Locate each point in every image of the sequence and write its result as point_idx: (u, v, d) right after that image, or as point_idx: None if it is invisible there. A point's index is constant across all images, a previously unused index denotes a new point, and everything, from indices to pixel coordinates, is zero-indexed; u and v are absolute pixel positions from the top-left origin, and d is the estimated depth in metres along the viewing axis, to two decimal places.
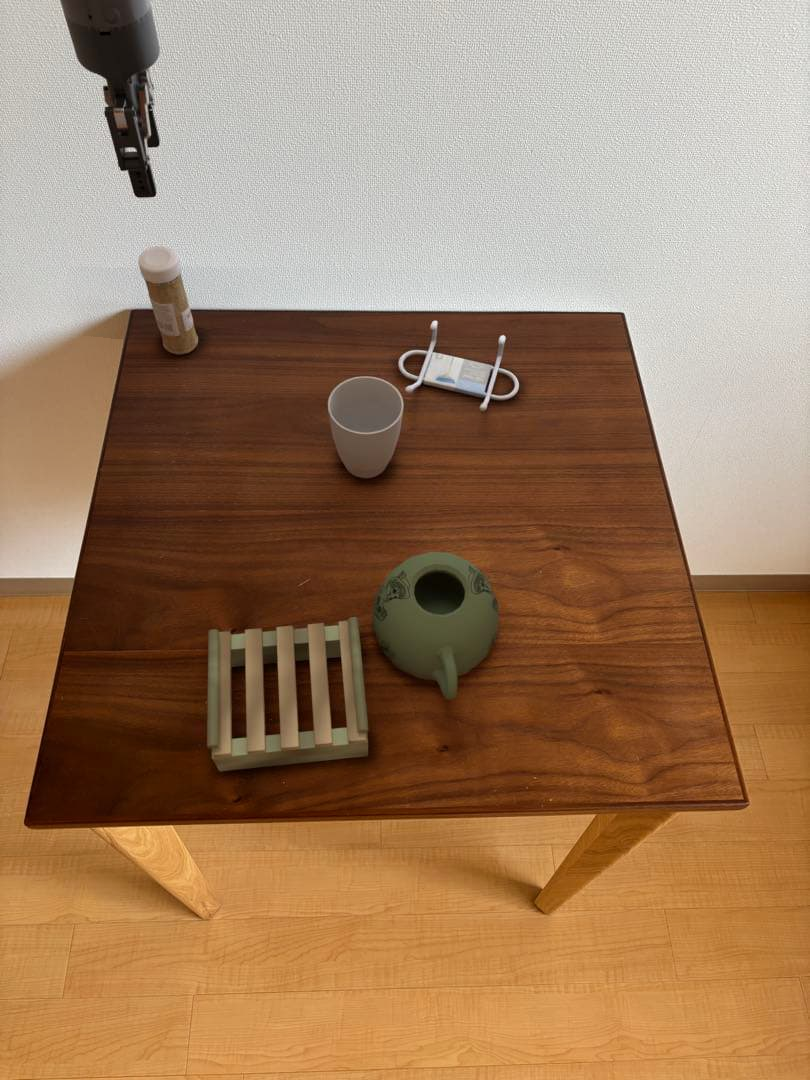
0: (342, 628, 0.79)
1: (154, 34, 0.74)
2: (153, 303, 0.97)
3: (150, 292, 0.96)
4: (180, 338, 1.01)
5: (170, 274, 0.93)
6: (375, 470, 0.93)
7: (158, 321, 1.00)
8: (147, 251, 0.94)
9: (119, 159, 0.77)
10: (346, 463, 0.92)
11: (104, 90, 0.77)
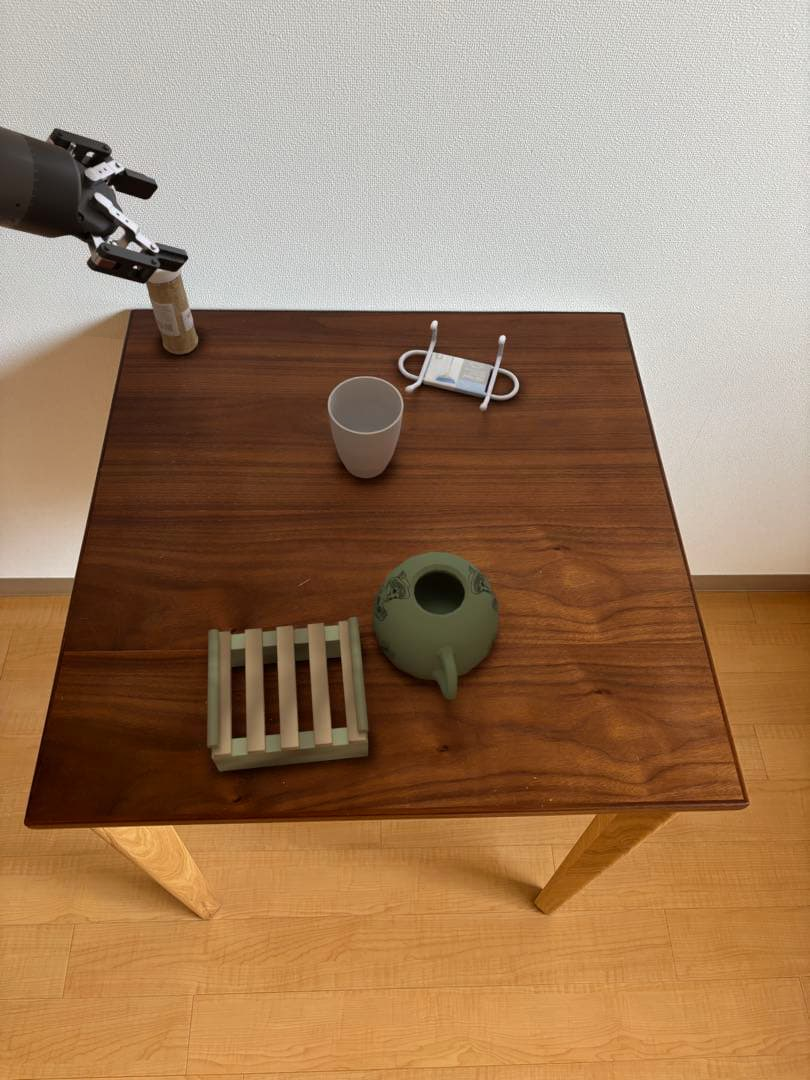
0: (342, 628, 0.79)
1: None
2: (153, 303, 0.97)
3: (150, 292, 0.96)
4: (180, 338, 1.01)
5: (170, 274, 0.93)
6: (375, 470, 0.93)
7: (158, 321, 1.00)
8: None
9: None
10: (346, 463, 0.92)
11: (84, 170, 0.71)
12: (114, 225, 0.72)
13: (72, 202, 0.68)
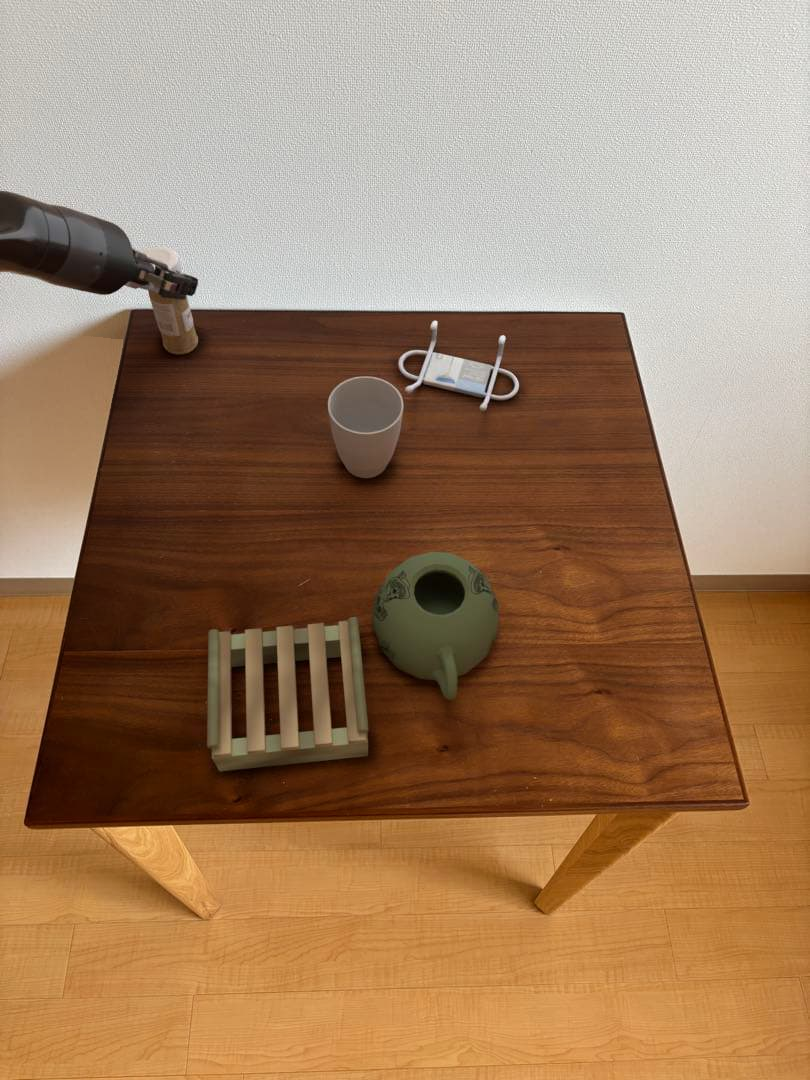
0: (342, 628, 0.79)
1: None
2: (153, 303, 0.97)
3: (150, 292, 0.96)
4: (180, 338, 1.01)
5: None
6: (375, 470, 0.93)
7: (158, 321, 1.00)
8: (147, 251, 0.94)
9: None
10: (346, 463, 0.92)
11: None
12: (153, 268, 0.89)
13: (128, 247, 0.84)
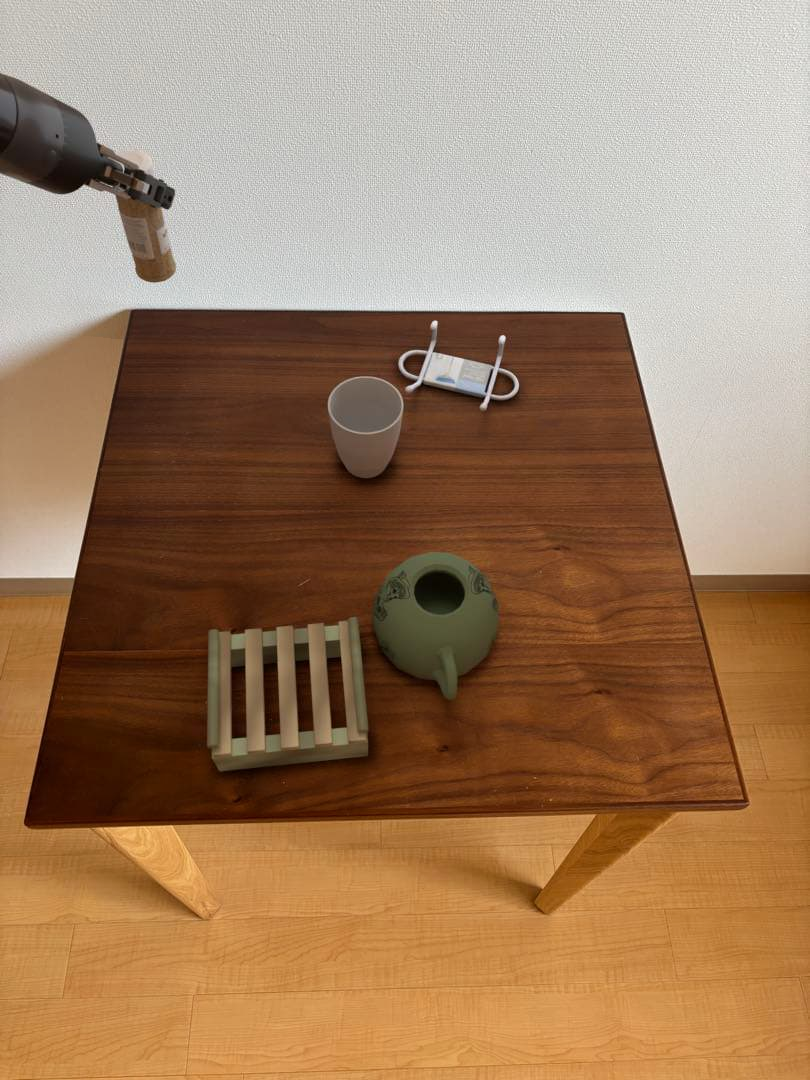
0: (342, 628, 0.79)
1: None
2: (123, 217, 0.84)
3: (120, 203, 0.83)
4: (155, 262, 0.89)
5: None
6: (375, 470, 0.93)
7: (129, 241, 0.87)
8: (116, 154, 0.81)
9: None
10: (346, 463, 0.92)
11: None
12: (121, 167, 0.77)
13: (91, 136, 0.72)
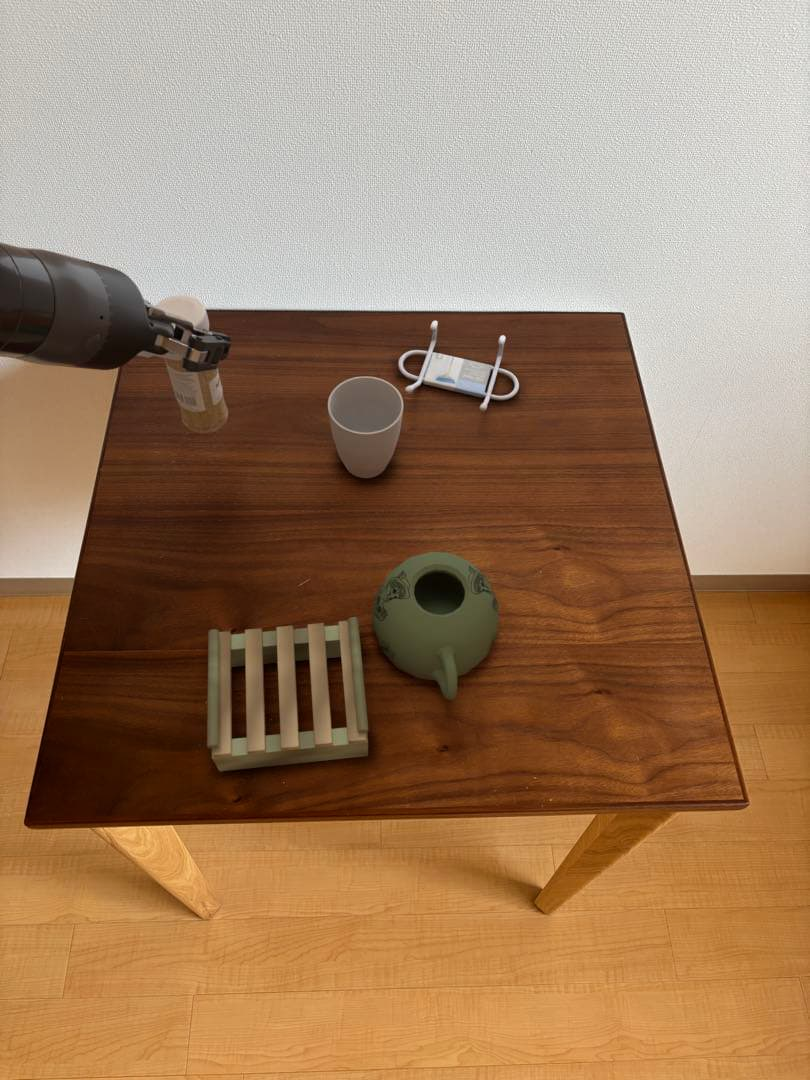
0: (342, 628, 0.79)
1: None
2: (171, 371, 0.72)
3: None
4: (206, 414, 0.76)
5: None
6: (375, 470, 0.93)
7: (177, 393, 0.74)
8: (163, 302, 0.69)
9: None
10: (346, 463, 0.92)
11: None
12: (173, 329, 0.64)
13: (140, 305, 0.59)
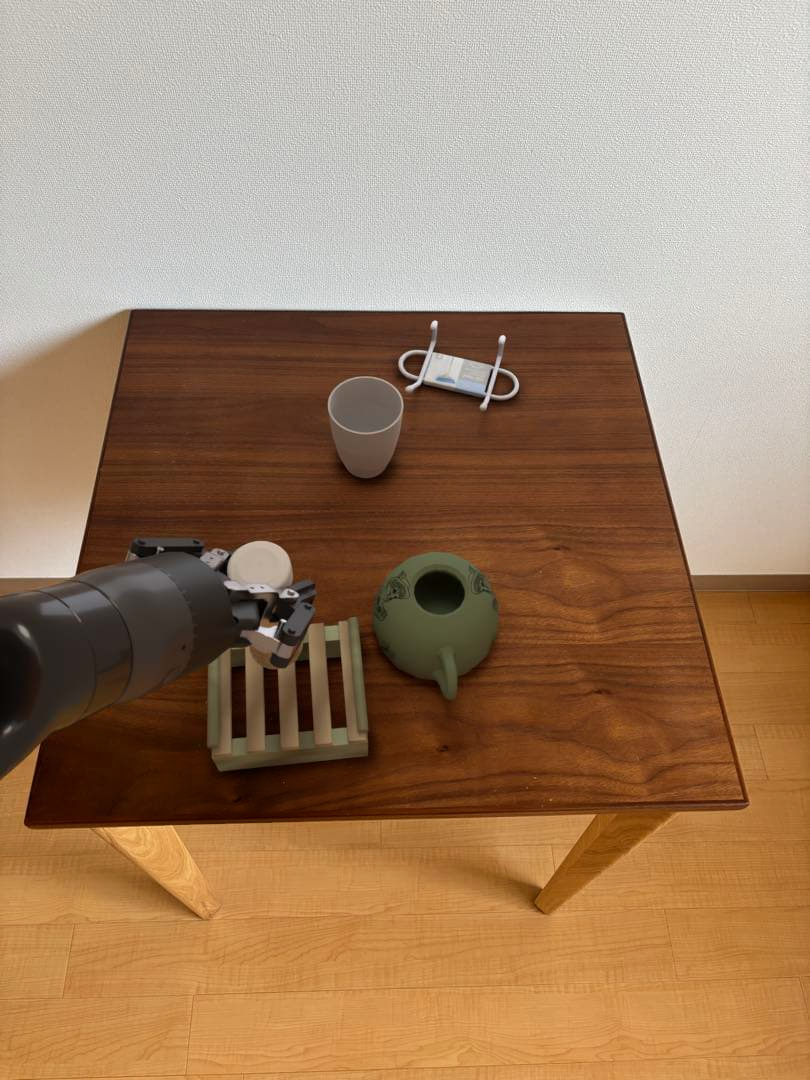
0: (342, 628, 0.79)
1: None
2: None
3: None
4: None
5: None
6: (375, 470, 0.93)
7: None
8: (241, 553, 0.58)
9: None
10: (346, 463, 0.92)
11: None
12: (258, 608, 0.53)
13: (226, 606, 0.48)
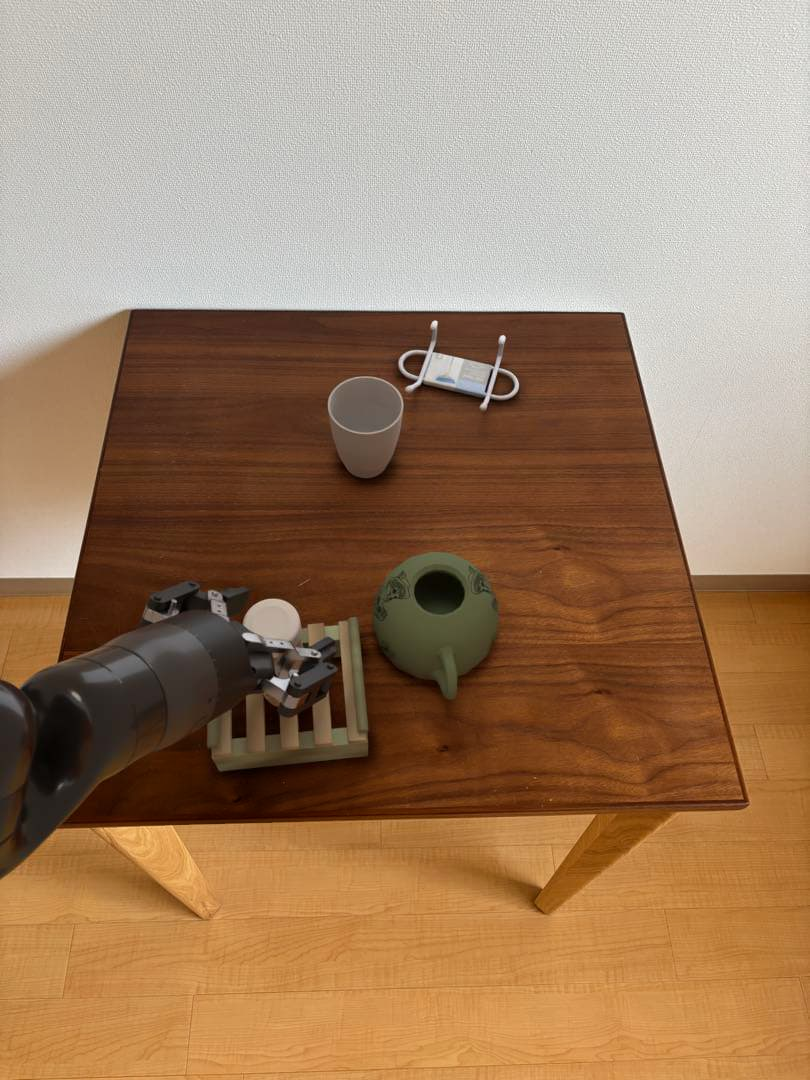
0: (342, 628, 0.79)
1: None
2: None
3: None
4: None
5: None
6: (375, 470, 0.93)
7: None
8: (255, 610, 0.65)
9: None
10: (346, 463, 0.92)
11: None
12: (272, 656, 0.59)
13: (245, 659, 0.55)
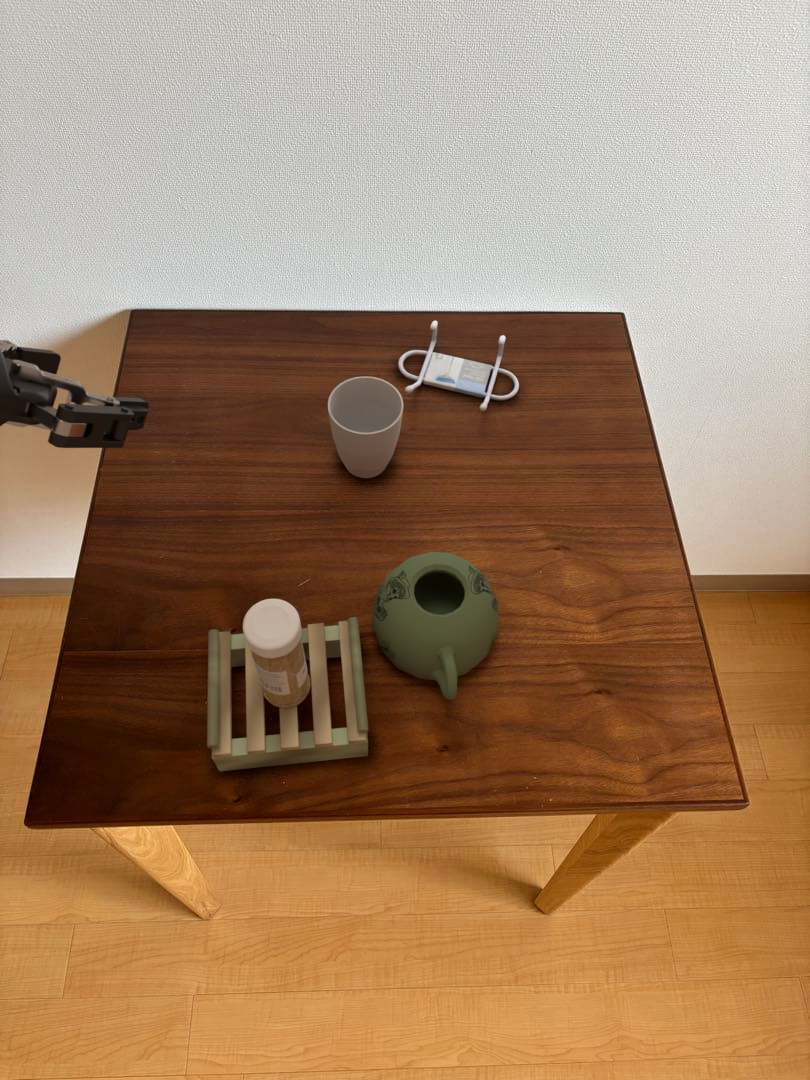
0: (342, 628, 0.79)
1: None
2: (258, 668, 0.68)
3: (256, 659, 0.67)
4: (290, 695, 0.72)
5: (289, 647, 0.64)
6: (375, 470, 0.93)
7: (262, 680, 0.70)
8: (255, 610, 0.65)
9: None
10: (346, 463, 0.92)
11: None
12: (53, 391, 0.52)
13: None
